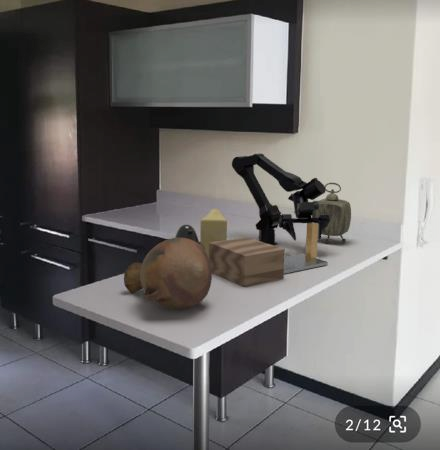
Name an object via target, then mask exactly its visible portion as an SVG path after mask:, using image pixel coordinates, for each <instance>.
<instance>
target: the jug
mask: <svg viewBox="0 0 440 450" xmlns="http://www.w3.org/2000/svg"><path fill="white" fill-rule="evenodd" d="M212 277H213V273H212V269H211V263H210V260H209V257H208V255H207V253H206V251H205V247H204V245H203V244H202V242H200V241H199V242H195V241H193V240H191V239H187V238H181V237H178V238H175V237H172V238H168V239H166V240H164V241H161V242H160V243H158V244H156V245H155V246H154V247H153V248H152V249H150V250H149V251H148V253H147V254H146V256H145V257H144V259H143V260H142V263H141V262H138V261H137V262H132V263H131V264H129V265H128V267H127V269H126V270H125V271H124V276H123V282H124V287H125V288H126V289H127V291H129V292H130V293H131V294H134V293H136V292H138V291H141V290H143V291H144V293H143V294H144V295H143V296H144V298H145V300H146V301H147V302H149V303H150V302H151V303H152V302H154V303H156V304H157V305H158V306H159V305H160V306H161V307H164V308H167V309H171V310H184V309H189V308H192V307H195V306H196V305H198V304H200V303H201V302H202V301H203V300H204V299H205V298H206V297H207V296H208V294H209V293H210V289H211V285H212V279H213V278H212Z"/></svg>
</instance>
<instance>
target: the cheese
mask: <svg viewBox="0 0 440 450" xmlns="http://www.w3.org/2000/svg"><path fill="white" fill-rule="evenodd" d="M227 221H228V220H227V219H226V218H225V216H224V214H223V213H221V211H220V210H219V209H218V208H212V209H211V210H210V211H209V212H208V214H206V215H205V216H204V217H203V218H201V220H200V236H199V237H200V238H199V239H200V241H199V242H202V244H203V245H204V247H205V251H206V253H207V255H208V257H209V243H210V242H217V241H223V240H228V239H227V238H228V237H227V235H228V233H227V232H228V222H227Z"/></svg>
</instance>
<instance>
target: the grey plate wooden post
mask: <svg viewBox="0 0 440 450" xmlns="http://www.w3.org/2000/svg"><path fill="white" fill-rule="evenodd" d="M317 252H318V224H317V223H313V222H312V223H306V238H305V254H304V253H300V254H294V255H288V256H284V275H285V274H289V273H294V272H298V271H303V270H308V269H313V268H318V267H322V266H328V264H329V263H328V262H329V261H326V260H324V259H323V260H322V259H320V258H317V254H318V253H317Z"/></svg>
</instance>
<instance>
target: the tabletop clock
mask: <svg viewBox="0 0 440 450" xmlns="http://www.w3.org/2000/svg"><path fill="white" fill-rule="evenodd" d="M328 185H333V186H334V185H335V186H338V188H339V190H336V191H335V189H331V190H328V189H327V188H326V187H327V186H328ZM324 187H325V190H326V191H325V192H327V193H329V194H327V195H326V197H325V198H322V199H319V200H317V201H318V203H319V209H318V210H315V211H313V216H311V218H317V217H318V215H319V214H328V215H329V216H330V222H329V224H328V226H327V227H325V228H324V229H322V234H321V236H322V235H324V236H326V237H327V239H326V240H325V243H326V244H330V242H331V240H330V236H331V237H339V236H340V238H341V242H342V243H346V241H347V240H346V238H344V237H343V235H344V234H346V233H348V232H349V229H350V226H351V219H352V207H351V203H350V202H349V201H347V200H344V199H341V198H340V199H339V196H338V195H337V194H338V193H340V192H341V190H342V188H341V185H340V184H339V183H336V182H328V183H326V184H325V185H324Z"/></svg>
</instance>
